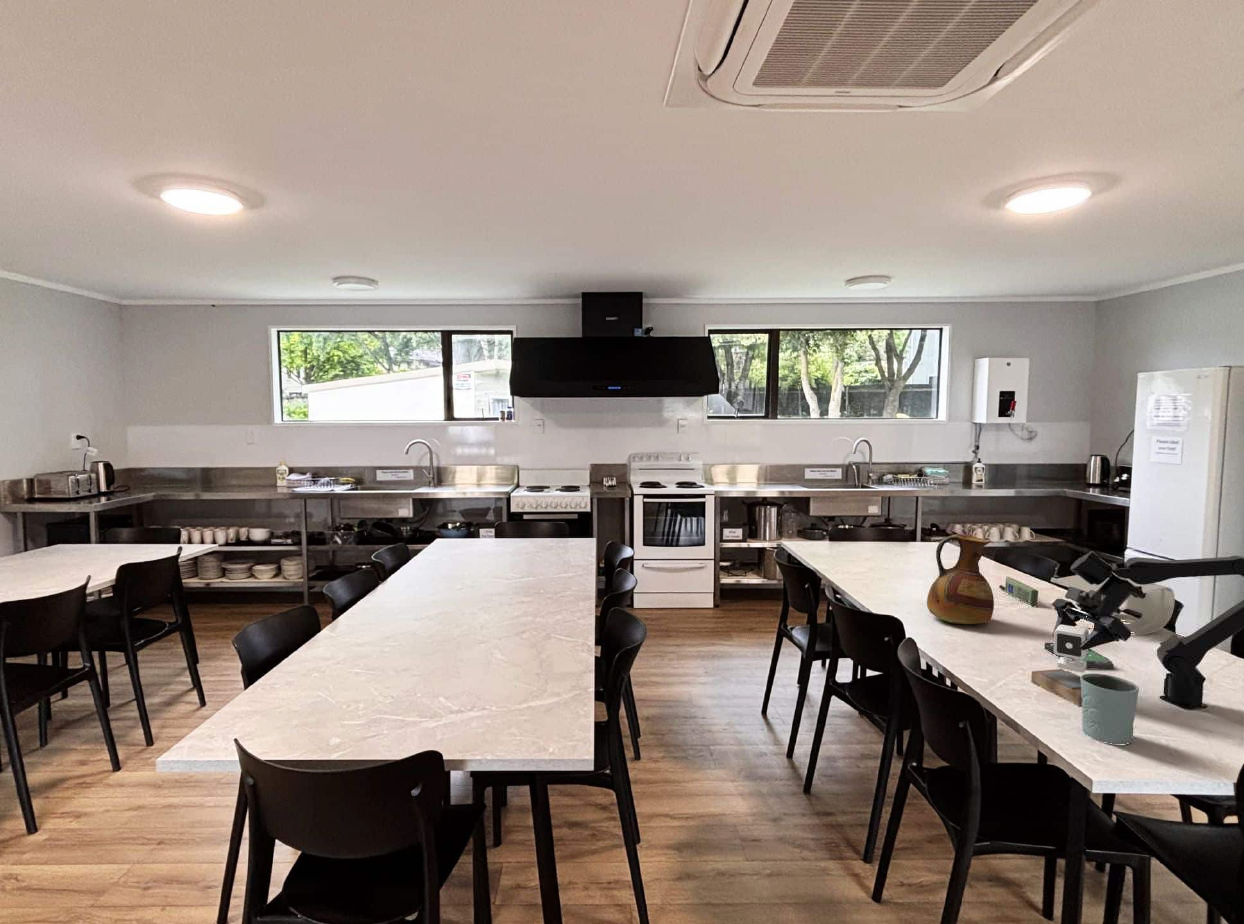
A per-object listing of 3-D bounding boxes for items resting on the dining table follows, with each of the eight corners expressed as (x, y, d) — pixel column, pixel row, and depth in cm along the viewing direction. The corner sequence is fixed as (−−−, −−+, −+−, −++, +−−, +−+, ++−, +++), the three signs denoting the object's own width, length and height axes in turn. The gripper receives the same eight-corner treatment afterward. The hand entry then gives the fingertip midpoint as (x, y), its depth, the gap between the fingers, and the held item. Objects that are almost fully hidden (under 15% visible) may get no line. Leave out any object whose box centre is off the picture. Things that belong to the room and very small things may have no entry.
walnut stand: (1110, 703, 152) (1111, 689, 152) (1078, 706, 151) (1079, 692, 150) (1060, 680, 166) (1061, 667, 166) (1031, 682, 164) (1031, 669, 164)
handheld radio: (1029, 607, 232) (995, 589, 257) (1038, 608, 232) (1004, 590, 256) (1030, 589, 231) (997, 573, 256) (1040, 590, 231) (1005, 573, 256)
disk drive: (1043, 651, 189) (1075, 670, 174) (1043, 642, 188) (1075, 660, 174) (1079, 651, 188) (1114, 670, 173) (1079, 642, 188) (1115, 660, 173)
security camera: (1053, 668, 158) (1053, 629, 157) (1058, 661, 163) (1059, 623, 162) (1084, 675, 153) (1084, 634, 153) (1088, 667, 158) (1089, 628, 158)
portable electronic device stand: (1175, 635, 201) (1178, 587, 200) (1106, 637, 199) (1108, 589, 198) (1108, 611, 226) (1110, 569, 225) (1046, 612, 225) (1048, 570, 224)
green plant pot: (1086, 742, 134) (1088, 687, 133) (1071, 721, 143) (1073, 669, 142) (1144, 750, 130) (1147, 694, 129) (1125, 728, 140) (1128, 676, 139)
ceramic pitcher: (999, 633, 203) (1002, 541, 201) (930, 626, 210) (933, 538, 208) (985, 615, 222) (988, 531, 220) (923, 610, 228) (925, 528, 226)
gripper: (1059, 568, 166) (1019, 610, 166) (1121, 585, 147) (1076, 633, 147) (1086, 596, 167) (1046, 638, 167) (1151, 617, 149) (1106, 664, 148)
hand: (1067, 642), depth 157 cm, fingers closed on security camera, 8 cm apart
